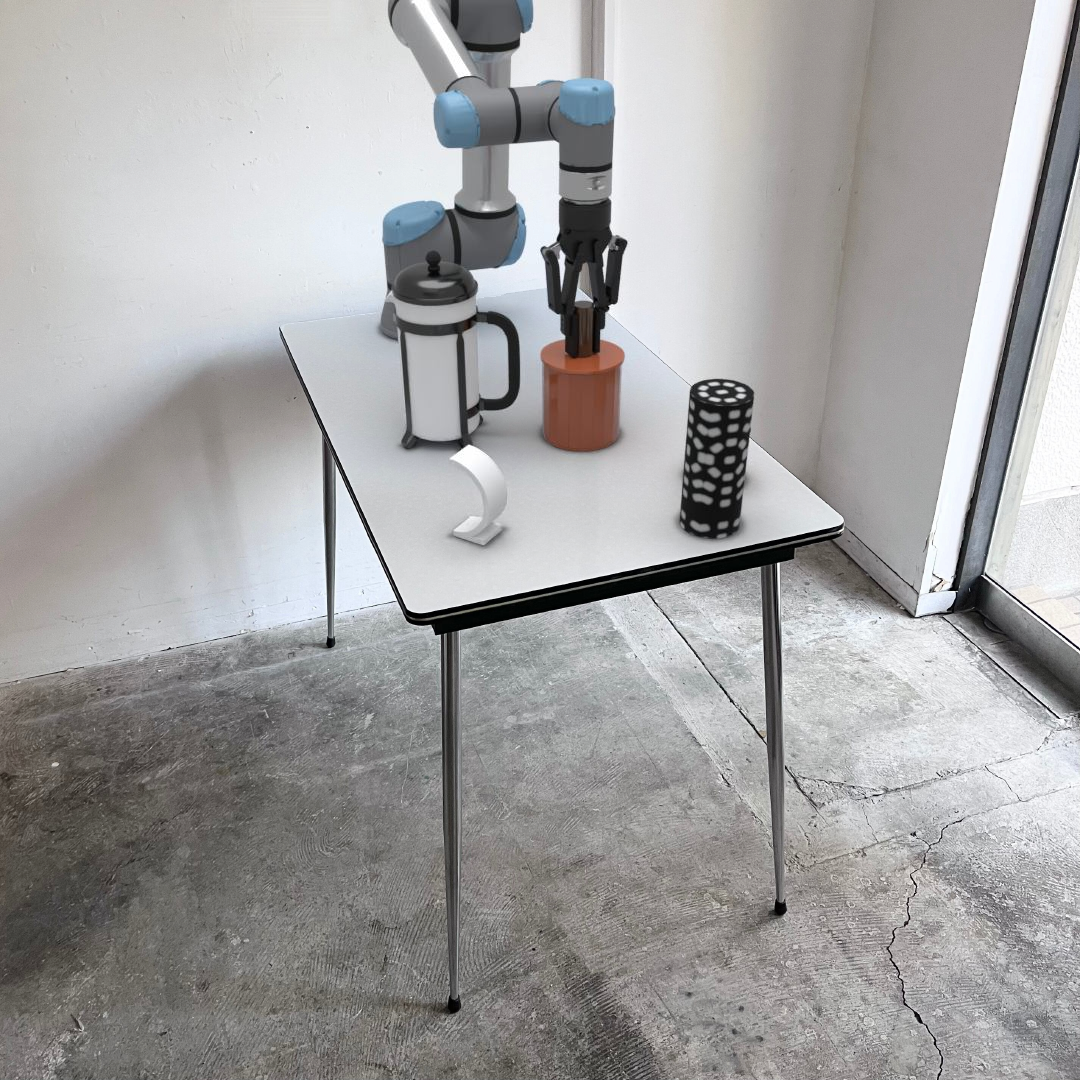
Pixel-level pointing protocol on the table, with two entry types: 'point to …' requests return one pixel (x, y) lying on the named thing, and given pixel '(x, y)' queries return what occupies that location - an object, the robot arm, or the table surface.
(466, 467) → the headphone stand
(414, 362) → the coffee press
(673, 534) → the table surface
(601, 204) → the robot arm
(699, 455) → the white-spotted black cylinder
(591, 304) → the lid
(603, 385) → the canister
